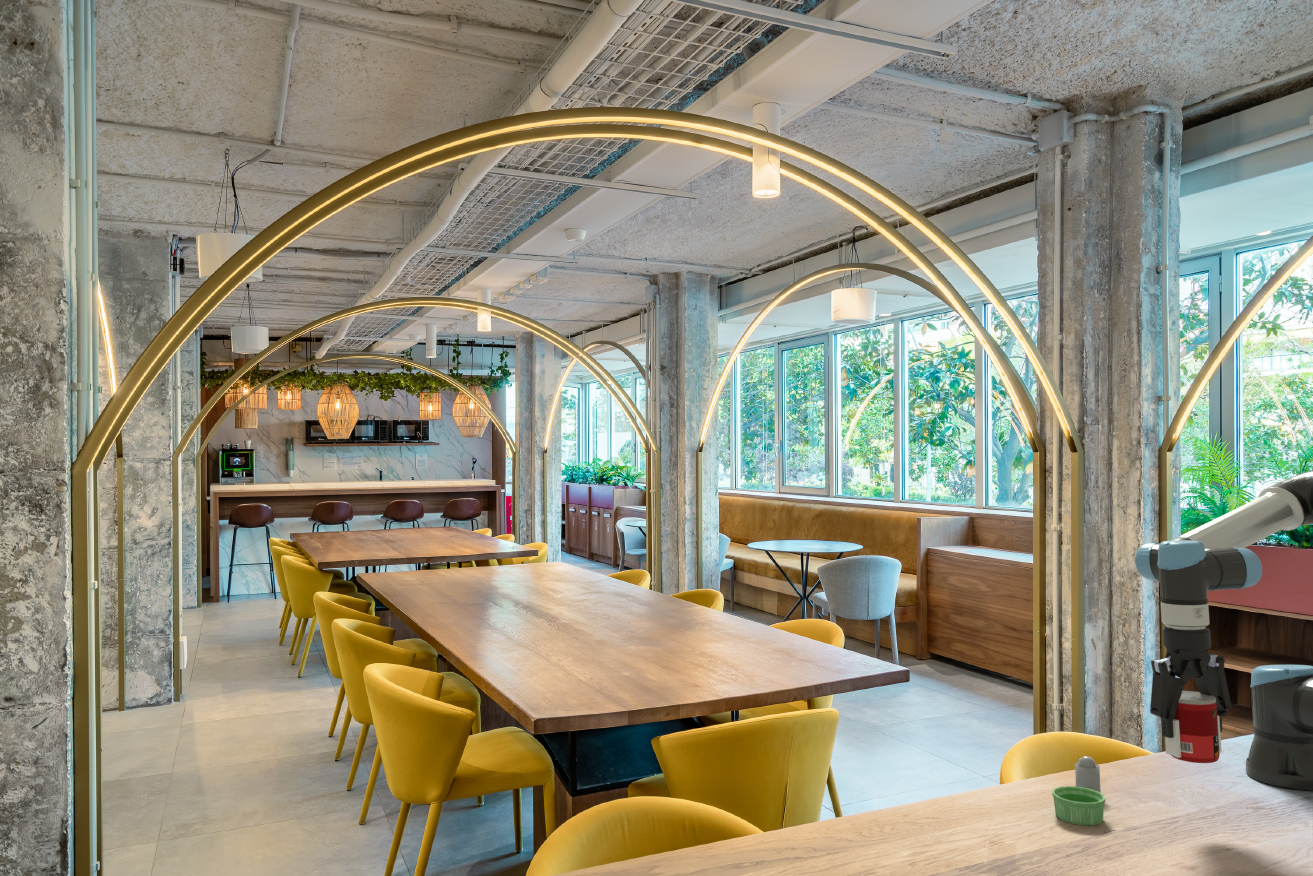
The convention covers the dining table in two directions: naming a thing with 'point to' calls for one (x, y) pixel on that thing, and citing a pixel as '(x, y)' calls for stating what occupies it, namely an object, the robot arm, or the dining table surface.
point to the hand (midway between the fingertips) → (1193, 752)
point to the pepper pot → (1087, 774)
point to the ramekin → (1079, 805)
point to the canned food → (1198, 727)
